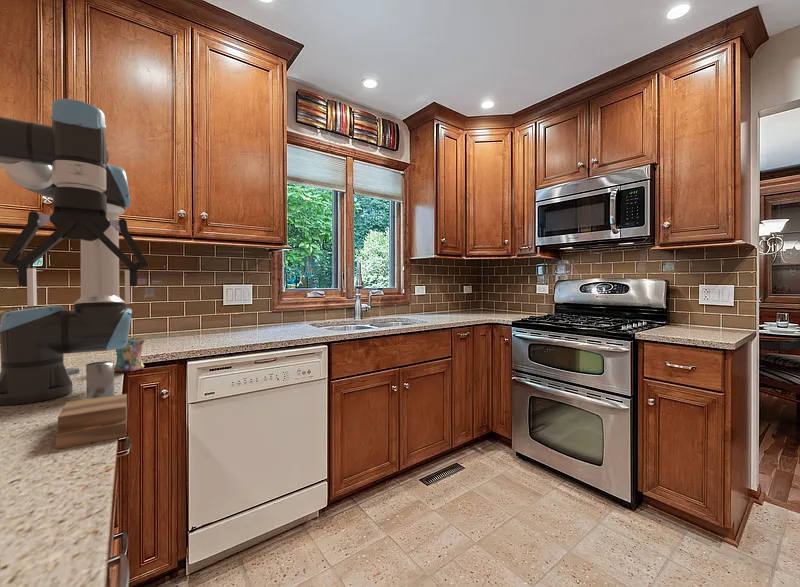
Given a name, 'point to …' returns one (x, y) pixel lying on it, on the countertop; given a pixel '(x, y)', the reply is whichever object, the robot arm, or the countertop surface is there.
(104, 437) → the step block
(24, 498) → the countertop surface
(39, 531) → the countertop surface
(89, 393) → the column
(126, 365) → the colorful snack bag
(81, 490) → the countertop surface
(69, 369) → the bracket
